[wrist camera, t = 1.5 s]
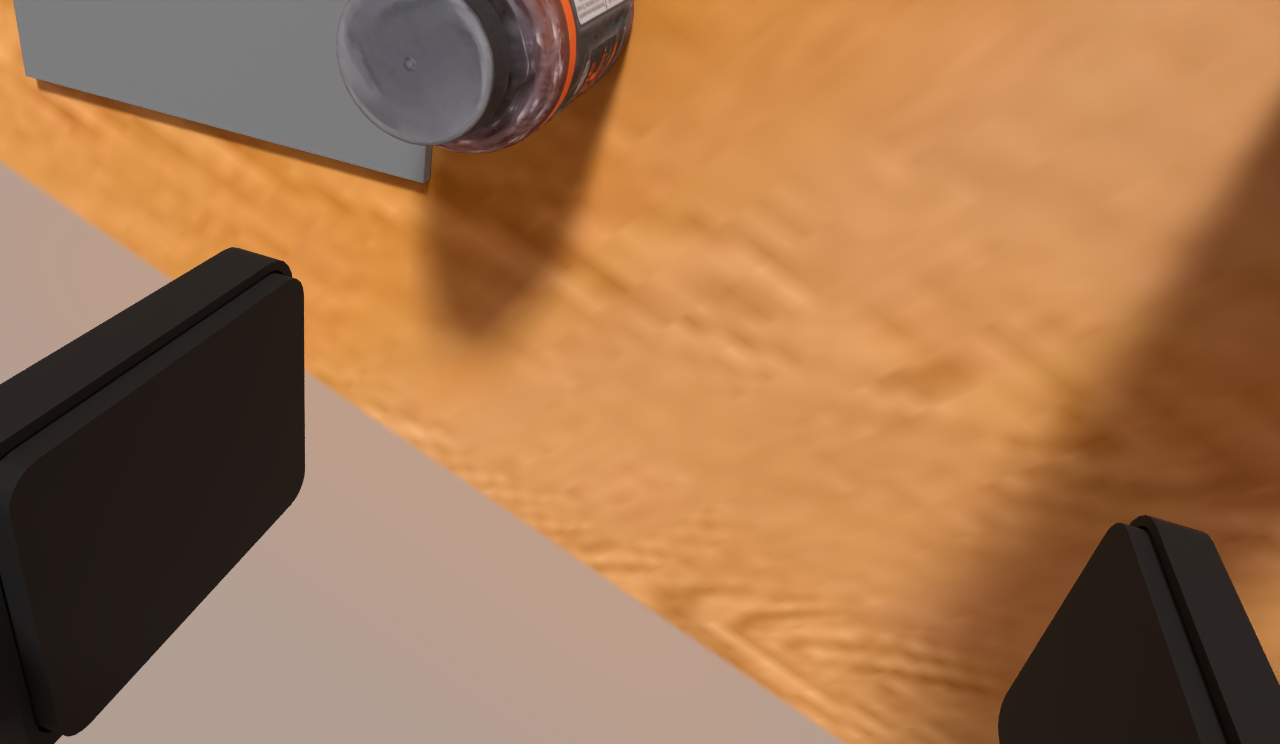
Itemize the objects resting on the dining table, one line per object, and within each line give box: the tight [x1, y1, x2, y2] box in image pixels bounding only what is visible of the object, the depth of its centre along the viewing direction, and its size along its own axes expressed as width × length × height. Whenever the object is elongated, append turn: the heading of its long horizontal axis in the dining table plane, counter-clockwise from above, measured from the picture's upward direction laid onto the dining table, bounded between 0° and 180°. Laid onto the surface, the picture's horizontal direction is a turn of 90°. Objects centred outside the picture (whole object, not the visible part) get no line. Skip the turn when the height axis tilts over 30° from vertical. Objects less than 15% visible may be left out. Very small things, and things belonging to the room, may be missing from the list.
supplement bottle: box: [336, 0, 634, 153], centre depth 26 cm, size 6×6×11 cm
